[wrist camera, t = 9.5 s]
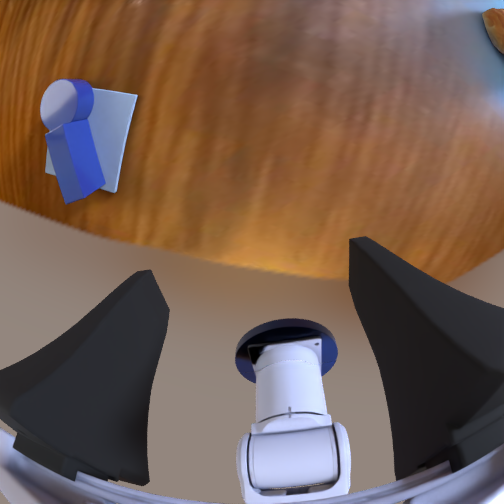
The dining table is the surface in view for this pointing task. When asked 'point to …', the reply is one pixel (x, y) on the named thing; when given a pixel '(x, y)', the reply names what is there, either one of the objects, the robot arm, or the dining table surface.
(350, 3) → the dining table surface
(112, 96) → the blue mat
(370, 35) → the dining table surface
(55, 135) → the blue spoon
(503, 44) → the pastry
